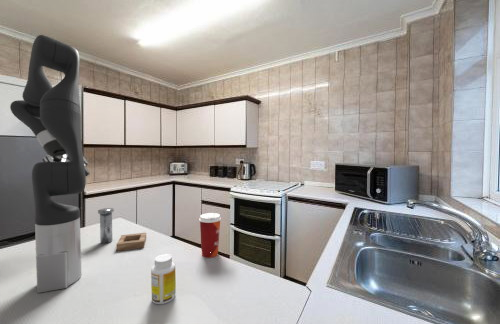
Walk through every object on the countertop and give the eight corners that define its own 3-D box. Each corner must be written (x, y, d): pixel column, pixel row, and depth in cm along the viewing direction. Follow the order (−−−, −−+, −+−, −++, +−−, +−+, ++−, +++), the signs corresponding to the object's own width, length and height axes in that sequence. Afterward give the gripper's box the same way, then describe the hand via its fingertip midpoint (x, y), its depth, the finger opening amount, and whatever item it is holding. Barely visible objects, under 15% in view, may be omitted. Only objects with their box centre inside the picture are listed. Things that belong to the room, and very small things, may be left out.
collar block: (144, 247, 81) (143, 240, 81) (116, 251, 78) (116, 244, 78) (146, 238, 90) (146, 232, 89) (121, 241, 86) (121, 235, 86)
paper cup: (223, 257, 74) (223, 217, 74) (200, 261, 72) (200, 219, 71) (218, 247, 82) (218, 211, 81) (197, 251, 79) (197, 213, 78)
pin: (112, 243, 84) (111, 210, 84) (96, 245, 82) (96, 212, 82) (115, 238, 89) (115, 207, 89) (100, 240, 87) (100, 208, 87)
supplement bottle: (177, 289, 57) (177, 252, 56) (172, 304, 51) (172, 262, 51) (155, 291, 56) (155, 252, 56) (147, 306, 50) (147, 263, 50)
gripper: (40, 137, 77) (66, 174, 77) (77, 138, 91) (99, 169, 91) (27, 149, 78) (52, 186, 78) (66, 148, 92) (87, 179, 92)
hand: (77, 177), depth 85 cm, fingers open, 8 cm apart
